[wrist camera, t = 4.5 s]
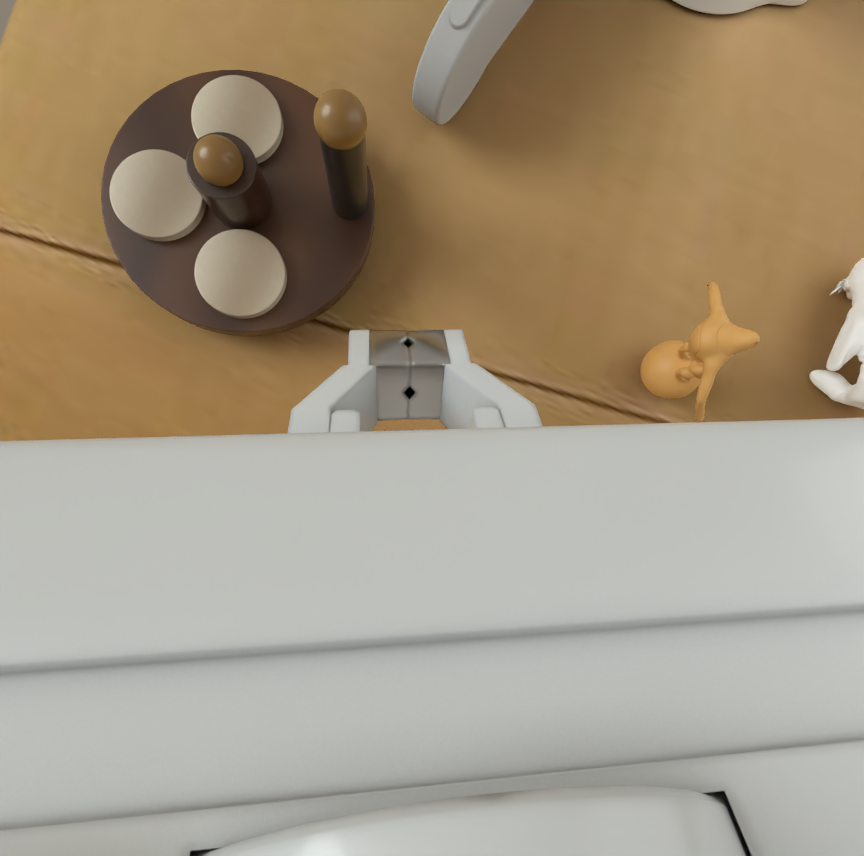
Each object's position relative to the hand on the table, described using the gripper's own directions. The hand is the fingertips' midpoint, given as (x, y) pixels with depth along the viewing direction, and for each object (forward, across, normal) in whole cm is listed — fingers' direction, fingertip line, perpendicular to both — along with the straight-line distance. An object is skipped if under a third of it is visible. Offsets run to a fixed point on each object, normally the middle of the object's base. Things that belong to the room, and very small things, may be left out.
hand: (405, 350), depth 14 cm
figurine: (+16, -18, +14) cm, 28 cm away
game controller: (+33, -8, -4) cm, 35 cm away
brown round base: (+22, +9, +5) cm, 24 cm away
